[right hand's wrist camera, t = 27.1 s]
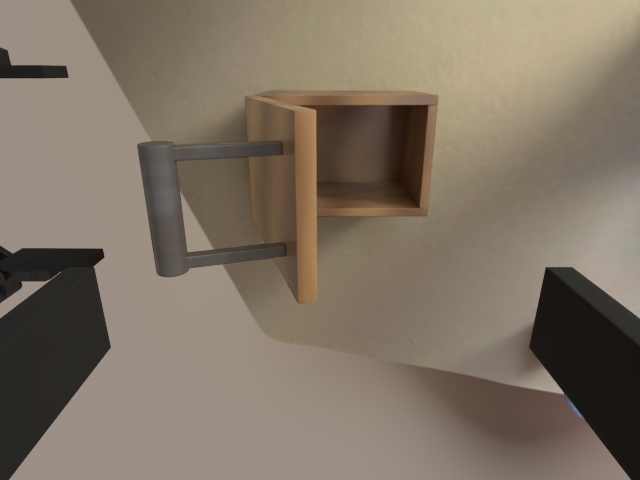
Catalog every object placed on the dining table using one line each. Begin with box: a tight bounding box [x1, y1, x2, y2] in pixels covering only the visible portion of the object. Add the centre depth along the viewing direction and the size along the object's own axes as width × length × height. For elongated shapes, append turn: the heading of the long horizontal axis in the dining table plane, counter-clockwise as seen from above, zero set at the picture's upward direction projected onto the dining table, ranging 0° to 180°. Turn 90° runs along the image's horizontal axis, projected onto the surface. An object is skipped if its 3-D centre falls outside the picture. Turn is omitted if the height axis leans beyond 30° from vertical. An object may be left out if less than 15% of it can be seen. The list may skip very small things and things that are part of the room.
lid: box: [137, 96, 317, 304], centre depth 27 cm, size 15×10×8 cm
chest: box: [254, 91, 438, 216], centre depth 40 cm, size 15×10×11 cm
